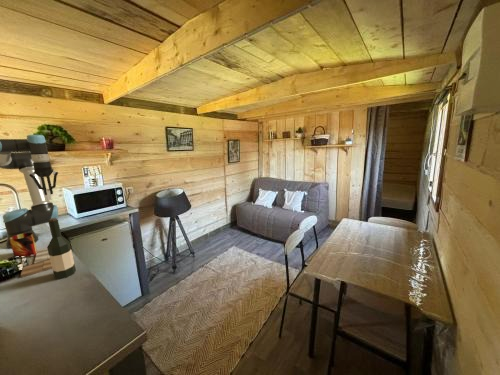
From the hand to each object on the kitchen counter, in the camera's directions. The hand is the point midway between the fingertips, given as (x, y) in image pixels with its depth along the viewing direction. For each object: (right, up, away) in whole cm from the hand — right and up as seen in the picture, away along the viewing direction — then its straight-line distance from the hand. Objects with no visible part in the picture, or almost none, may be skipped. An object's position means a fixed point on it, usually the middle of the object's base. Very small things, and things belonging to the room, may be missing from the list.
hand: (50, 199), depth 130 cm
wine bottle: (+29, -37, -22) cm, 52 cm away
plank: (+1, -34, -4) cm, 34 cm away
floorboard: (+11, -36, -16) cm, 41 cm away
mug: (-13, -34, 0) cm, 36 cm away
